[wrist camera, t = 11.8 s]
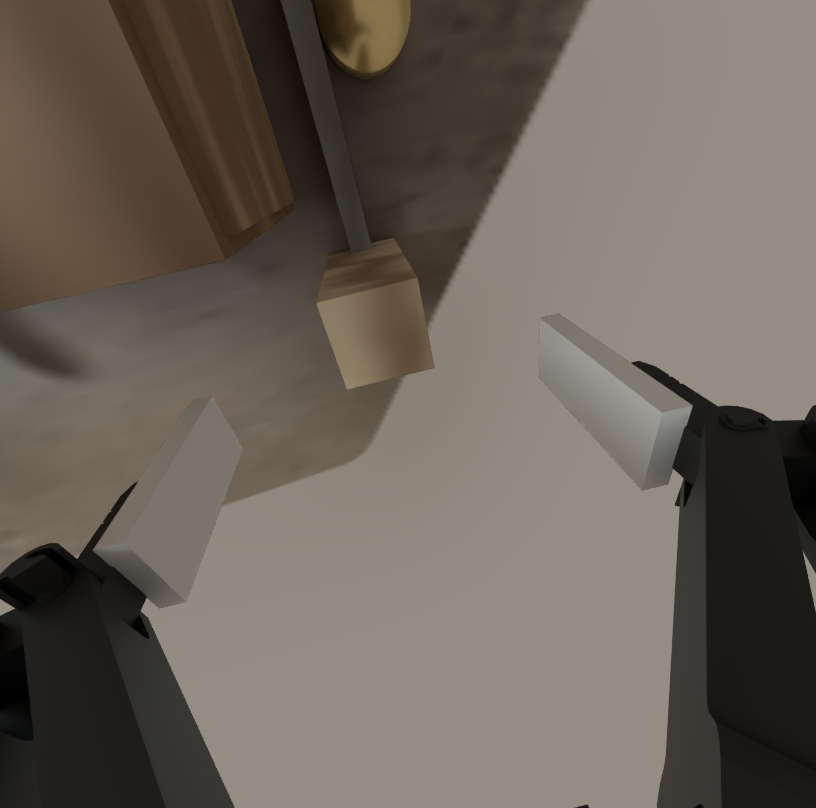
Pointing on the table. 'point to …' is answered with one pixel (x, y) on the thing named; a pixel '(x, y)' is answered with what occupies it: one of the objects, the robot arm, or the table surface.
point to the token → (363, 33)
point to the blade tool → (358, 247)
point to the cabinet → (128, 144)
